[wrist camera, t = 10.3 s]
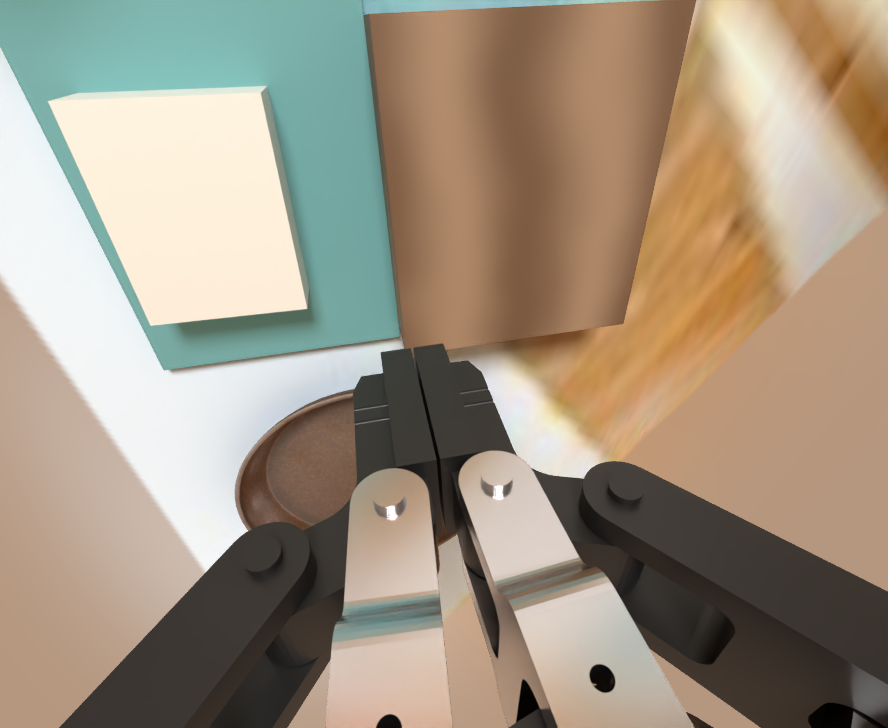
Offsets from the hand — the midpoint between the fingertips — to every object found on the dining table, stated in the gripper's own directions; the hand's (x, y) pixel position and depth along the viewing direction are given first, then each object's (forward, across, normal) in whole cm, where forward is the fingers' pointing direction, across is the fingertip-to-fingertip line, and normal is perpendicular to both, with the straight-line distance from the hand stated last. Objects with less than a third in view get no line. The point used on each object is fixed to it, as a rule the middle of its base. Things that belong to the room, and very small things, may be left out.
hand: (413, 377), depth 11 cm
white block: (+11, +7, -1) cm, 14 cm away
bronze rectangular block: (+15, -6, 0) cm, 16 cm away
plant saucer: (+15, +3, +19) cm, 24 cm away
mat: (+14, +6, 0) cm, 16 cm away
